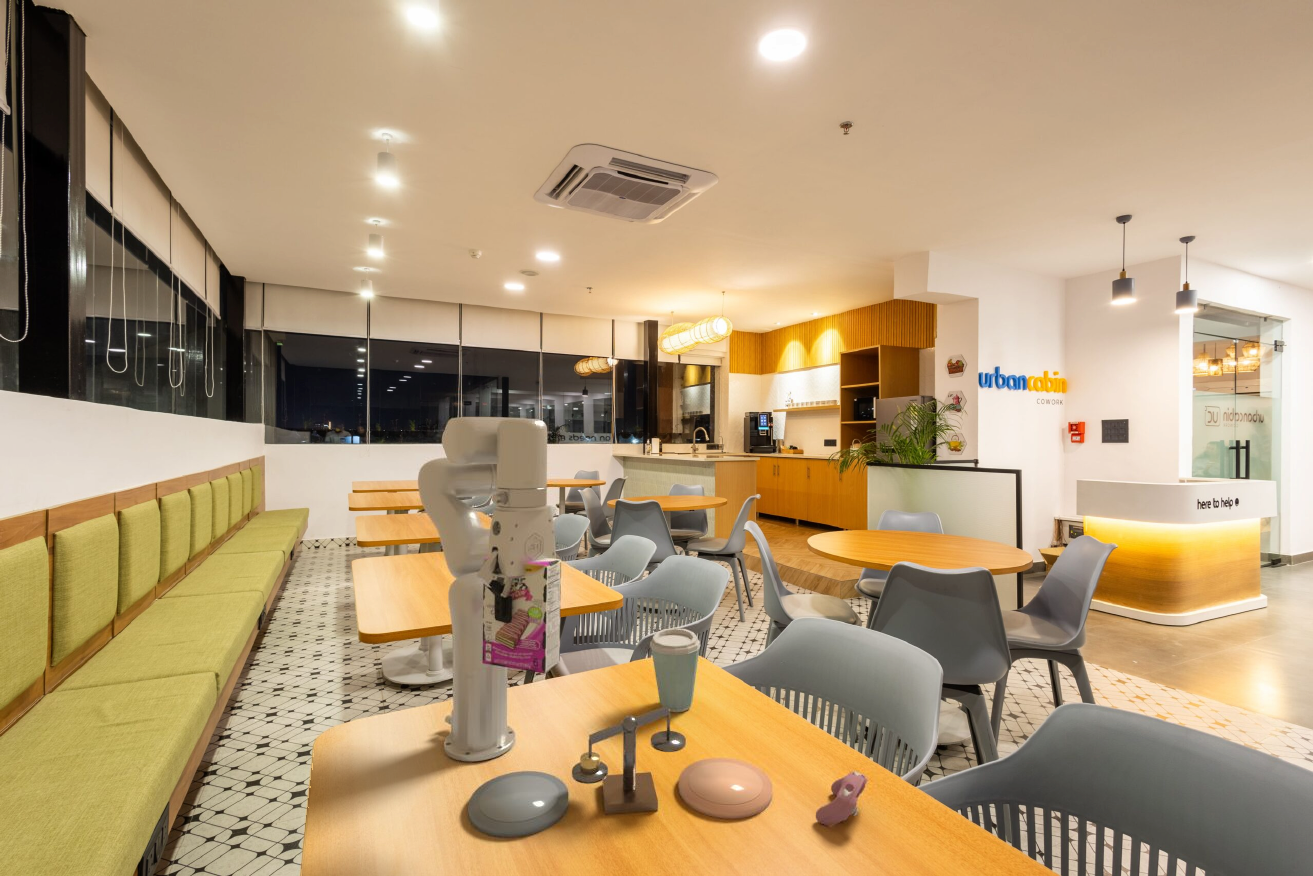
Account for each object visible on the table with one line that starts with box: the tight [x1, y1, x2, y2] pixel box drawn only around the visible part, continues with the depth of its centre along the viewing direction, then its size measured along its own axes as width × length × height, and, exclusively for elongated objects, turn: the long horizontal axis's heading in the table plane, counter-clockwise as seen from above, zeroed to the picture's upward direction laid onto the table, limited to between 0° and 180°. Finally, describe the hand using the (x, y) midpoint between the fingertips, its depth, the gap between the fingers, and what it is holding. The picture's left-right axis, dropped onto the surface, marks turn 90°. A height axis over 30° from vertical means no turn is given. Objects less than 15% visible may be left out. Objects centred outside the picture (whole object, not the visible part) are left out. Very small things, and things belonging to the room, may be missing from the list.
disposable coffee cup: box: [649, 627, 701, 713], centre depth 130 cm, size 11×11×15 cm
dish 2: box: [678, 757, 773, 820], centre depth 100 cm, size 15×15×1 cm
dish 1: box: [467, 770, 570, 839], centre depth 95 cm, size 15×15×1 cm
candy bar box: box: [482, 557, 562, 674], centre depth 95 cm, size 11×5×16 cm, turn 71°
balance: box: [571, 705, 687, 816], centre depth 98 cm, size 18×8×14 cm, turn 98°
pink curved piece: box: [815, 770, 868, 826], centre depth 94 cm, size 10×5×7 cm, turn 149°
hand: (520, 615), depth 95 cm, fingers closed on candy bar box, 6 cm apart
